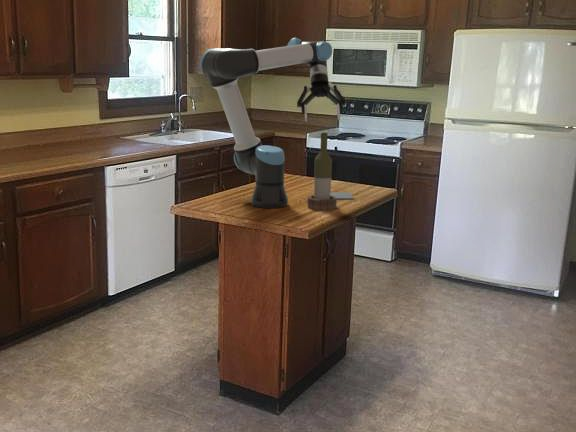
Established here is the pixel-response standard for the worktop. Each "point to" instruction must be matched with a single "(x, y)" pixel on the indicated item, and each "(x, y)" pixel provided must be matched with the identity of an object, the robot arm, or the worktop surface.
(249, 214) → the worktop surface
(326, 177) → the bottle
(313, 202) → the ring stand
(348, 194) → the mat
